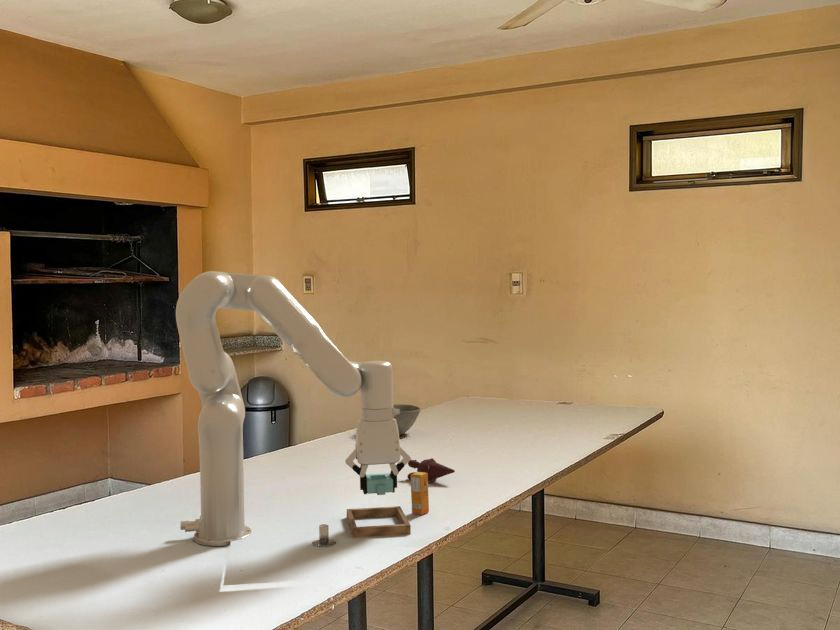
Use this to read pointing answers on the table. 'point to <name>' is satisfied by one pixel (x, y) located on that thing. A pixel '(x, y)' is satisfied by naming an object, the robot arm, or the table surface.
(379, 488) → the teal tabbed square frame
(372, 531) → the tray
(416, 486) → the supplement box
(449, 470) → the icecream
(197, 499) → the table surface
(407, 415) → the bowl
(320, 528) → the grey metallic peg stand
